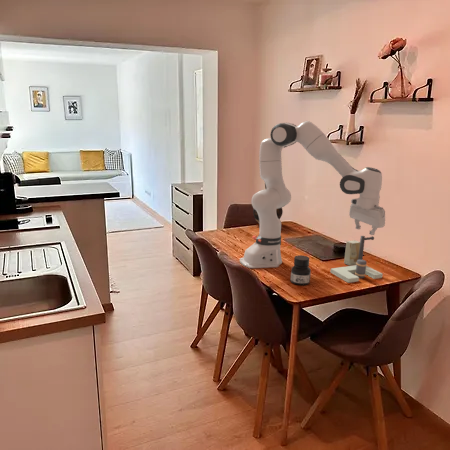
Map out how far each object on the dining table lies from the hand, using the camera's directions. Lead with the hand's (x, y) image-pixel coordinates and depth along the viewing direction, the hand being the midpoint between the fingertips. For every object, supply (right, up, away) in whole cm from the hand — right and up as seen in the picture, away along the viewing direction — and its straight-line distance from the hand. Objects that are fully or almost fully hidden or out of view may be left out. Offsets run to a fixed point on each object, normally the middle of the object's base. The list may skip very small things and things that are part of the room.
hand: (364, 231), depth 195 cm
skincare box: (+1, -17, +23) cm, 29 cm away
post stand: (-1, -21, +8) cm, 23 cm away
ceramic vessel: (-36, +3, +97) cm, 104 cm away
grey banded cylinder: (0, -22, +6) cm, 23 cm away
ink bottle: (-31, -24, -2) cm, 39 cm away
